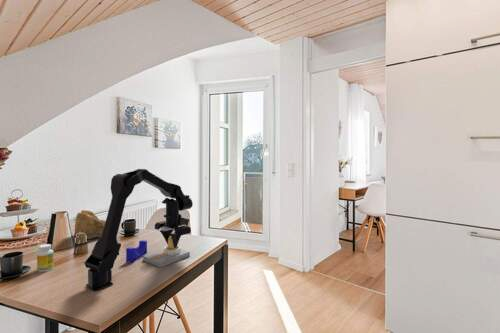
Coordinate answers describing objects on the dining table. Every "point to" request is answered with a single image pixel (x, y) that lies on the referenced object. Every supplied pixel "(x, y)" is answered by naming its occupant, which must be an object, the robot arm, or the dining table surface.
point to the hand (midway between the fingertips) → (172, 246)
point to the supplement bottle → (45, 258)
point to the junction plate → (166, 256)
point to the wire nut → (170, 244)
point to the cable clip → (136, 251)
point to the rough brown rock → (89, 224)
